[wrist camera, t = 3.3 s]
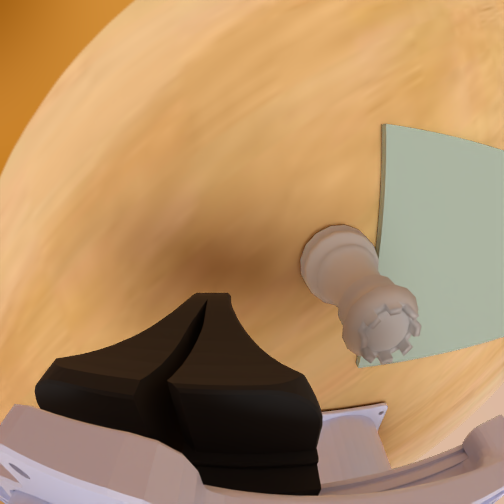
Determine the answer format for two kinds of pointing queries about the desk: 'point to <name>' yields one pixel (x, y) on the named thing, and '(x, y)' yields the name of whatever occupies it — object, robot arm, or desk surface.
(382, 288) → the rook chess piece
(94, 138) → the desk surface
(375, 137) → the desk surface
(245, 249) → the desk surface
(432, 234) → the mat
